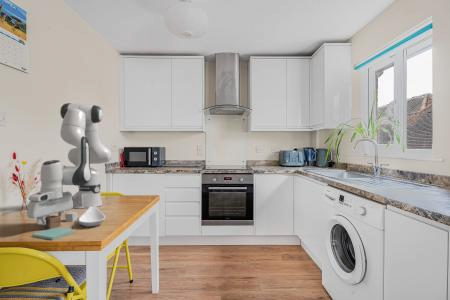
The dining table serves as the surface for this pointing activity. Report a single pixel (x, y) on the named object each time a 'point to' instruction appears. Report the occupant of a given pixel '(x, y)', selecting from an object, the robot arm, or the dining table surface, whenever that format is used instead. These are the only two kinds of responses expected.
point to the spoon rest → (92, 217)
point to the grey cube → (71, 216)
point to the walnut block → (52, 222)
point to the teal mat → (53, 233)
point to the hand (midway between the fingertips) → (51, 222)
